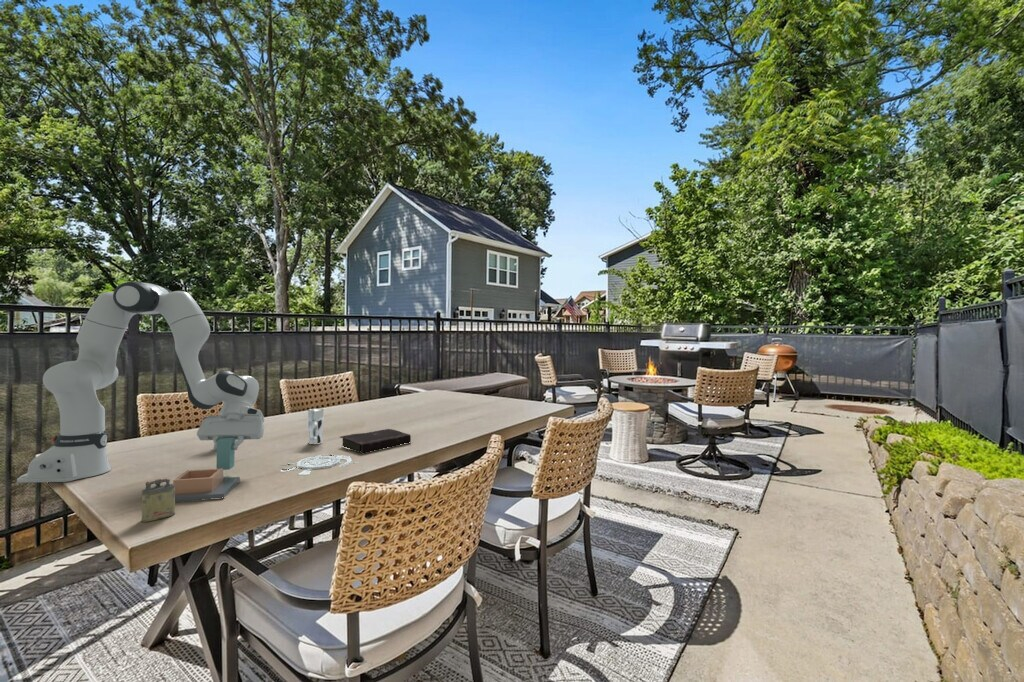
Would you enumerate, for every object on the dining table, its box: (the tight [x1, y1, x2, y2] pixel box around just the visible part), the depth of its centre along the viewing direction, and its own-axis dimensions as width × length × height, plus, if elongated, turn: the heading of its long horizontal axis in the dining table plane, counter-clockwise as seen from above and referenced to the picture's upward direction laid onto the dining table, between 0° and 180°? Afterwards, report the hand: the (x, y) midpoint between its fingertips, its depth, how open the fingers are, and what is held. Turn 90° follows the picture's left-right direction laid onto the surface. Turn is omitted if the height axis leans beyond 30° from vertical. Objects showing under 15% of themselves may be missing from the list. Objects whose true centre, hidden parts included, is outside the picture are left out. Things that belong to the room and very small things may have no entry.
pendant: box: [279, 454, 360, 476], centre depth 169 cm, size 21×28×1 cm
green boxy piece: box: [140, 478, 176, 523], centre depth 118 cm, size 7×4×10 cm, turn 140°
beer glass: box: [306, 408, 325, 445], centre depth 199 cm, size 7×7×15 cm
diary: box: [339, 428, 412, 454], centre depth 198 cm, size 19×25×5 cm
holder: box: [172, 468, 241, 503], centre depth 137 cm, size 18×16×6 cm
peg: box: [215, 438, 236, 471], centre depth 152 cm, size 4×4×10 cm
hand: (225, 449), depth 152 cm, fingers closed on peg, 4 cm apart
